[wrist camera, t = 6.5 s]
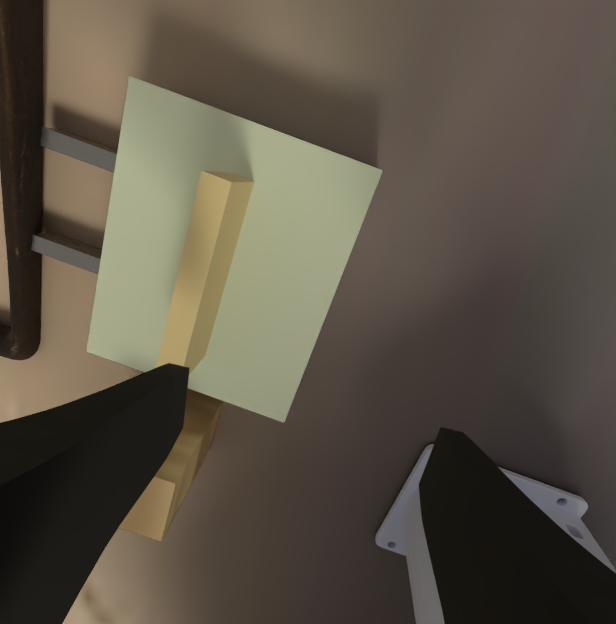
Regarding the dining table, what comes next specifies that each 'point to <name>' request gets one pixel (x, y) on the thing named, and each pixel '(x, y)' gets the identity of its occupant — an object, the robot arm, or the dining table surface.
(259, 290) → the lid
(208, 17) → the dining table surface
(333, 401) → the dining table surface
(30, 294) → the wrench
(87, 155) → the keeper
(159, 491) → the wooden block
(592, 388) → the dining table surface
